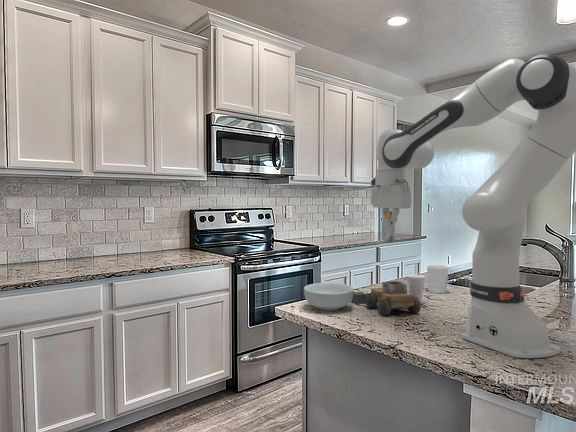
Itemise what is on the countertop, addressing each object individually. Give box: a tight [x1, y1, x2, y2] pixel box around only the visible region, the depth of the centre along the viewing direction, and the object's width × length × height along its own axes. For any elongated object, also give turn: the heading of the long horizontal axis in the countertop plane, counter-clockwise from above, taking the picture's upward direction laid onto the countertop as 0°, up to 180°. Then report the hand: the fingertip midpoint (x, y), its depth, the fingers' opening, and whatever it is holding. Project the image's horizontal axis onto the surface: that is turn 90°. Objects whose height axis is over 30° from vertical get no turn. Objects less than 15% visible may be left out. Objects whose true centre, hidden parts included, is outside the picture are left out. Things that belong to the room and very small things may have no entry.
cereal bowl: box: [303, 282, 354, 312], centre depth 137 cm, size 17×17×7 cm
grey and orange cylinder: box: [385, 211, 396, 243], centre depth 133 cm, size 3×3×10 cm
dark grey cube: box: [351, 291, 367, 305], centre depth 144 cm, size 4×4×4 cm
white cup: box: [426, 264, 449, 294], centre depth 160 cm, size 8×8×10 cm
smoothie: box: [406, 263, 426, 305], centre depth 143 cm, size 6×6×14 cm
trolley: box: [365, 280, 422, 316], centre depth 134 cm, size 14×13×9 cm
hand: (390, 221), depth 133 cm, fingers closed on grey and orange cylinder, 3 cm apart
